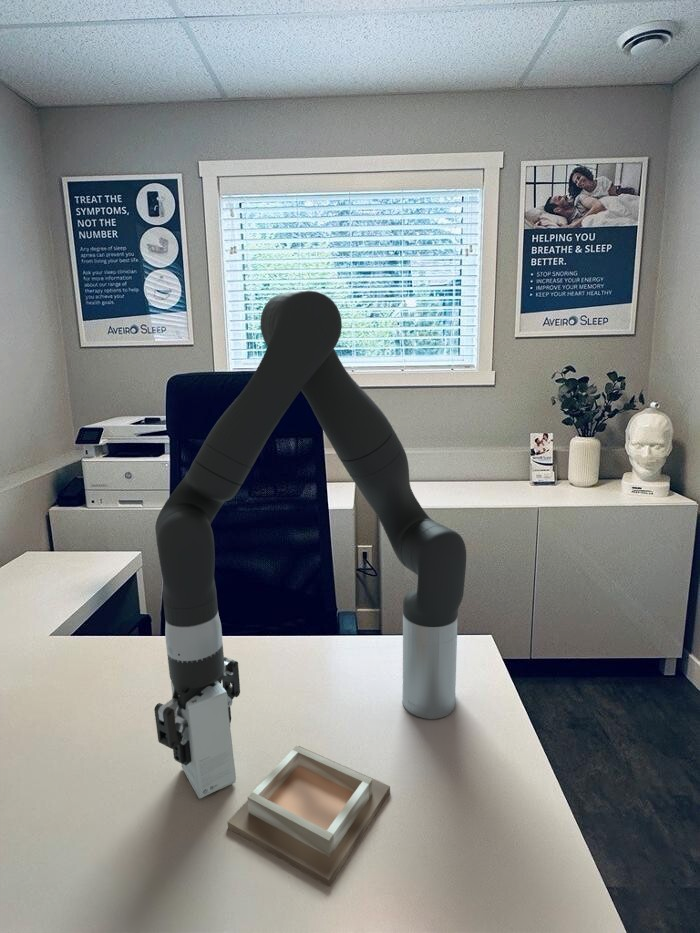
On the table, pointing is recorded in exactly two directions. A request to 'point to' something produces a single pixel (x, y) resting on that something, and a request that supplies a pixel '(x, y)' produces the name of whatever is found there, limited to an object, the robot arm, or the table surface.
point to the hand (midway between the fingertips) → (204, 744)
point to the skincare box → (209, 741)
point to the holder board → (310, 812)
